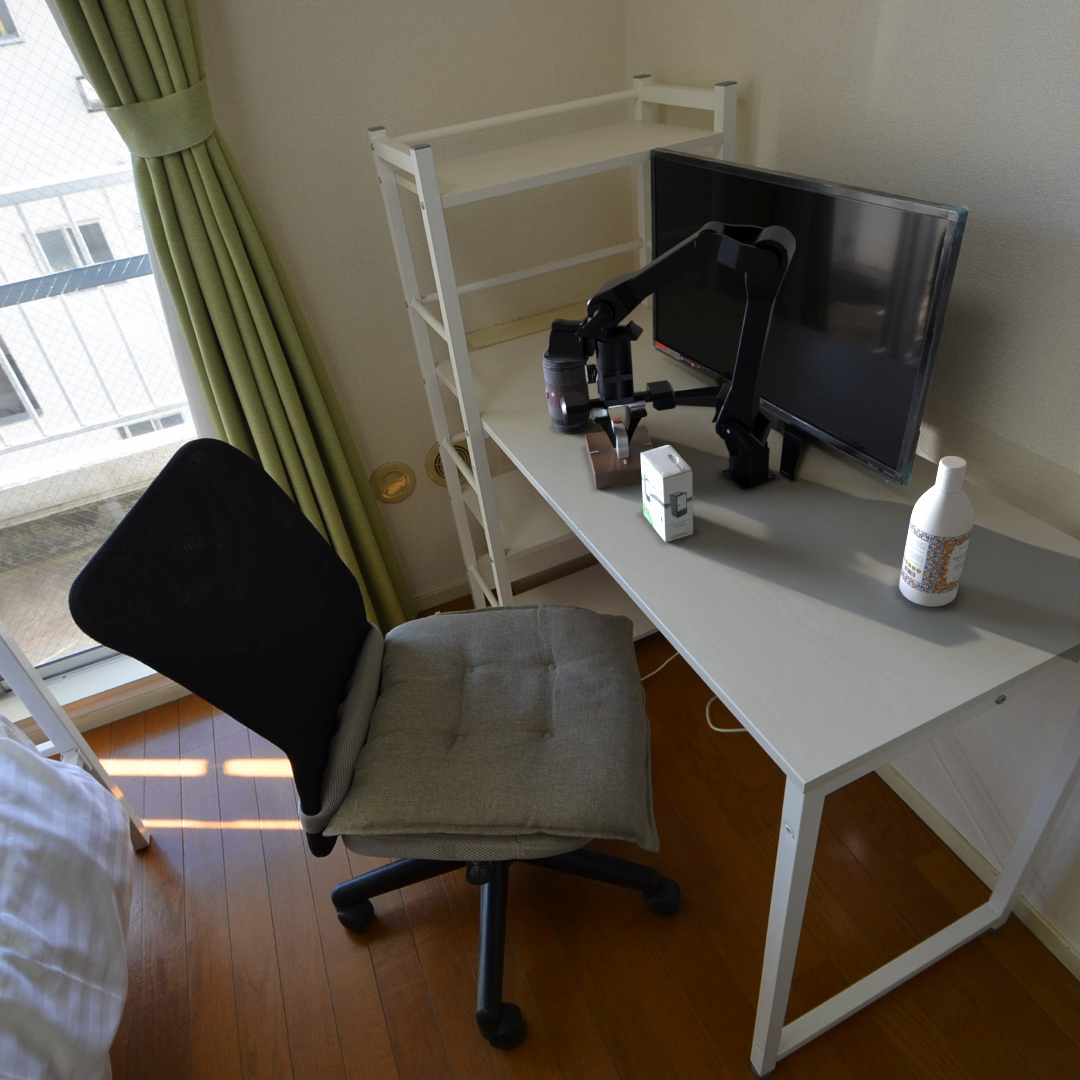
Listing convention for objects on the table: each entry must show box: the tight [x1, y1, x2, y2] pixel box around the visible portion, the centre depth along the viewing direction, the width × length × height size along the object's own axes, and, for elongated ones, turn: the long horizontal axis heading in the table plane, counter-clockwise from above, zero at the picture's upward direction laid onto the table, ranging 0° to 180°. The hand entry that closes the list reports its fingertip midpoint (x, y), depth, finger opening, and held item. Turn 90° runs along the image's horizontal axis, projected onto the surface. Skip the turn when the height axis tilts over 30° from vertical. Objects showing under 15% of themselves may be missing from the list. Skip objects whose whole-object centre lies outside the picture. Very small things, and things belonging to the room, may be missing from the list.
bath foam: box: [898, 455, 974, 608], centre depth 100 cm, size 7×7×20 cm
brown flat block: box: [584, 424, 654, 490], centre depth 140 cm, size 14×11×3 cm
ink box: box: [641, 444, 694, 543], centre depth 122 cm, size 9×5×12 cm, turn 18°
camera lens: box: [542, 348, 591, 434], centre depth 150 cm, size 8×8×15 cm
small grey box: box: [611, 417, 629, 458], centre depth 138 cm, size 6×2×4 cm, turn 4°
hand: (620, 446), depth 139 cm, fingers closed on small grey box, 2 cm apart
